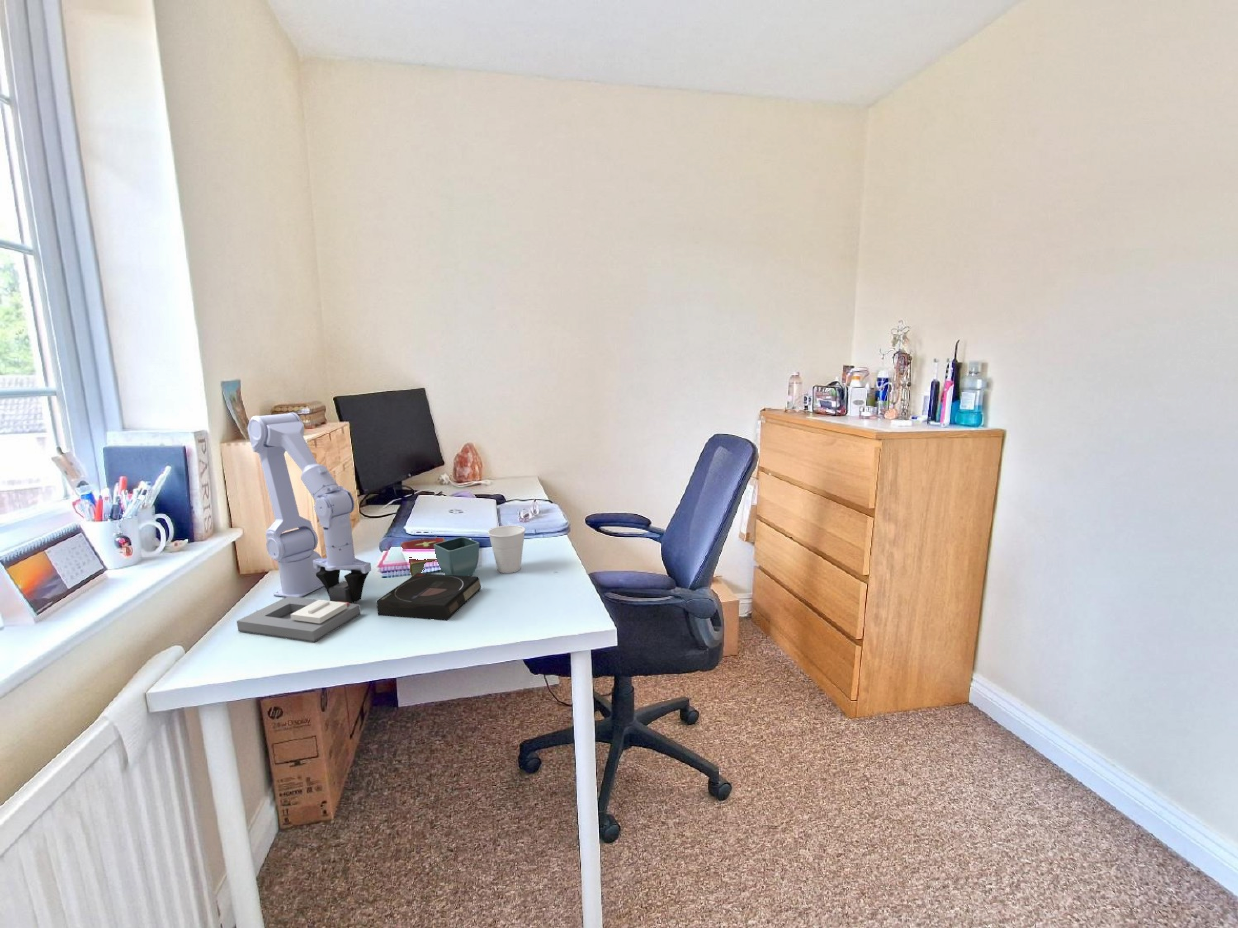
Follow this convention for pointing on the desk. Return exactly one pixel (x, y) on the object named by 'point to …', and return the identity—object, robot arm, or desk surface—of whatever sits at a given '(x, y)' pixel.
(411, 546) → the hardcover book
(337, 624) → the socket plate
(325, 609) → the shutter
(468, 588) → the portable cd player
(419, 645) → the desk surface
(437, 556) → the flower pot
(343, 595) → the plug
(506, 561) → the cup
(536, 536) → the desk surface
